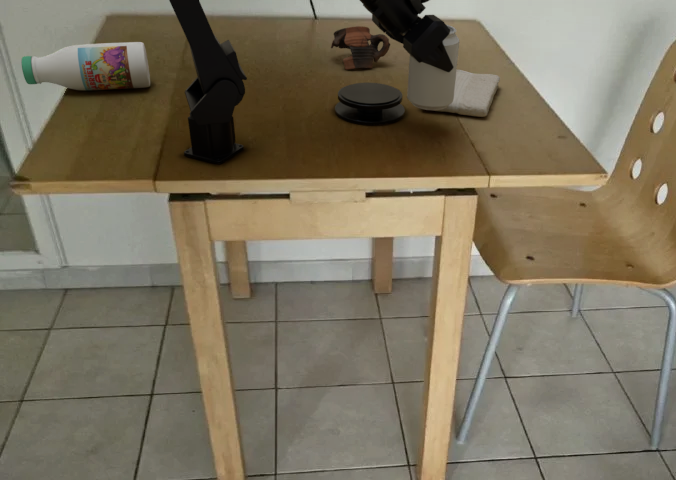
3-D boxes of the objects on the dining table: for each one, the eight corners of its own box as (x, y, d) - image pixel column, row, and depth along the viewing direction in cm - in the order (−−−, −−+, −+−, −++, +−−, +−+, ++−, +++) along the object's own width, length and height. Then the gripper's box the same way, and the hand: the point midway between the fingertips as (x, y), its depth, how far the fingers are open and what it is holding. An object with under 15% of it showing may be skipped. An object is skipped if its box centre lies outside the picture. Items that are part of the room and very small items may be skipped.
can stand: (386, 130, 117) (387, 110, 115) (322, 116, 120) (321, 97, 118) (415, 107, 126) (416, 88, 124) (354, 94, 129) (354, 76, 127)
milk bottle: (151, 79, 131) (33, 86, 126) (144, 36, 127) (22, 41, 122) (151, 92, 125) (27, 100, 120) (143, 48, 121) (14, 53, 116)
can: (449, 114, 111) (457, 36, 104) (402, 108, 112) (407, 30, 105) (455, 98, 117) (463, 23, 110) (411, 93, 118) (416, 18, 111)
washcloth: (499, 86, 136) (501, 70, 134) (487, 121, 122) (489, 103, 120) (438, 79, 138) (439, 63, 136) (419, 112, 124) (420, 95, 122)
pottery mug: (329, 72, 140) (323, 29, 139) (342, 79, 149) (337, 39, 148) (389, 61, 137) (383, 17, 137) (398, 69, 147) (393, 28, 146)
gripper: (442, -42, 93) (506, 40, 103) (394, -67, 107) (454, 7, 117) (383, 23, 95) (451, 97, 105) (343, -10, 109) (406, 58, 119)
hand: (441, 61), depth 111 cm, fingers closed on can, 7 cm apart
